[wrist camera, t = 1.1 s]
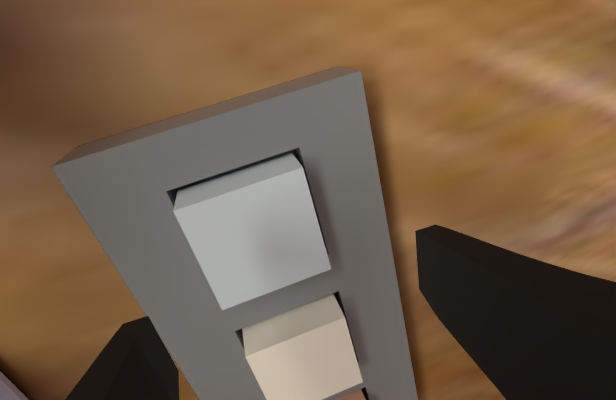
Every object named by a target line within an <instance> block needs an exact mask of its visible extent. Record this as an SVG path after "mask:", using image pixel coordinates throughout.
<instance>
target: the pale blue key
mask: <svg viewBox="0 0 616 400" xmlns="http://www.w3.org/2000/svg"><path fill="white" fill-rule="evenodd" d="M173 212H174V214H175V216H176V218H177V220H178V222H179V224H180V226H181V228H182V230H183V232H184V234H185V236H186V238H187V240H188V242H189V244H190V246H191V248H192V250H193V252H194V254H195V256H196V258H197V260H198V262H199V264H200V266H201V268H202V270H203V273H204V275H205V277H206V279H207V281H208V283H209V285H210V287H211V289H212V291H213V293H214V295H215V297H216V299H217V301H218V303H219V305H220V307H221V309H222V310H225V309H227V308H230V307H233V306H235V305H238V304H241V303H243V302H246V301H248V300H251V299H254V298H256V297H259V296H262V295H264V294H267V293H270V292H272V291H275V290H278V289H280V288H283V287H285V286H288V285H291V284H293V283H296V282H299V281H301V280H304V279H307V278H309V277H312V276H314V275H317V274H320V273H322V272H325V271H328V270H330V269H331V266H330V262H329V259H328V255H327V252H326V248H325V245H324V241H323V237H322V234H321V230H320V227H319V223H318V220H317V216H316V212H315V209H314V205H313V202H312V198H311V195H310V191H309V187H308V184H307V180H306V177H305V173H304V169H303V167H302V165H301V164H300V163H299V162H298V160H297V159H296V158H295V156H294V155H293V154H292V153H290V154H287V155H284V156H281V157H278V158H275V159H272V160H269V161H266V162H263V163H260V164H257V165H254V166H251V167H248V168H245V169H242V170H239V171H236V172H233V173H230V174H227V175H224V176H221V177H218V178H215V179H212V180H209V181H206V182H203V183H200V184H197V185H194V186H191V187H188V188H185V189H182V190H179V191H178V192H177V196H176V201H175V205H174V209H173Z"/></svg>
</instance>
